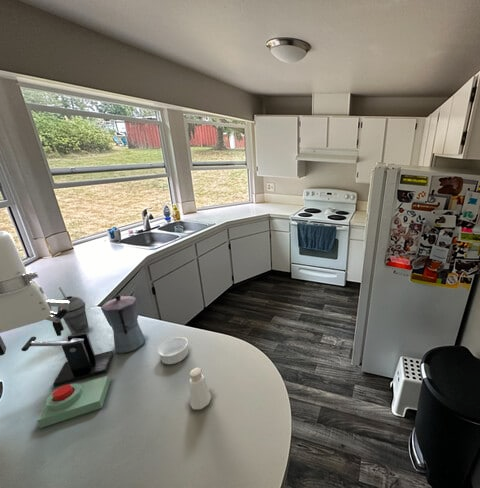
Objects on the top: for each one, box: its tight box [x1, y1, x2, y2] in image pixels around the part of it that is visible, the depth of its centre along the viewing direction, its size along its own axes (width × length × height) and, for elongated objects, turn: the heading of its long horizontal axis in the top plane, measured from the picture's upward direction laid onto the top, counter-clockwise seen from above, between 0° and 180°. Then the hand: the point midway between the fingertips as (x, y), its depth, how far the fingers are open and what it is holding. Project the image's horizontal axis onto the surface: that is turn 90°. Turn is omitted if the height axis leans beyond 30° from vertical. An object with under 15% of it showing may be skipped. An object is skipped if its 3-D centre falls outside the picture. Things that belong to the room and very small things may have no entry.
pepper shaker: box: [188, 367, 212, 410], centre depth 69 cm, size 5×5×11 cm
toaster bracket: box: [52, 332, 114, 388], centre depth 78 cm, size 12×9×12 cm
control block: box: [36, 375, 111, 429], centre depth 68 cm, size 12×9×4 cm
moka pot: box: [100, 294, 146, 354], centre depth 86 cm, size 10×15×20 cm, turn 44°
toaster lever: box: [21, 336, 84, 352], centre depth 74 cm, size 12×5×2 cm, turn 117°
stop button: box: [51, 384, 73, 401], centre depth 66 cm, size 4×4×2 cm
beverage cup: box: [57, 286, 90, 335], centre depth 91 cm, size 7×7×20 cm
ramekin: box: [157, 336, 189, 365], centre depth 85 cm, size 9×9×4 cm
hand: (32, 342), depth 64 cm, fingers open, 9 cm apart
